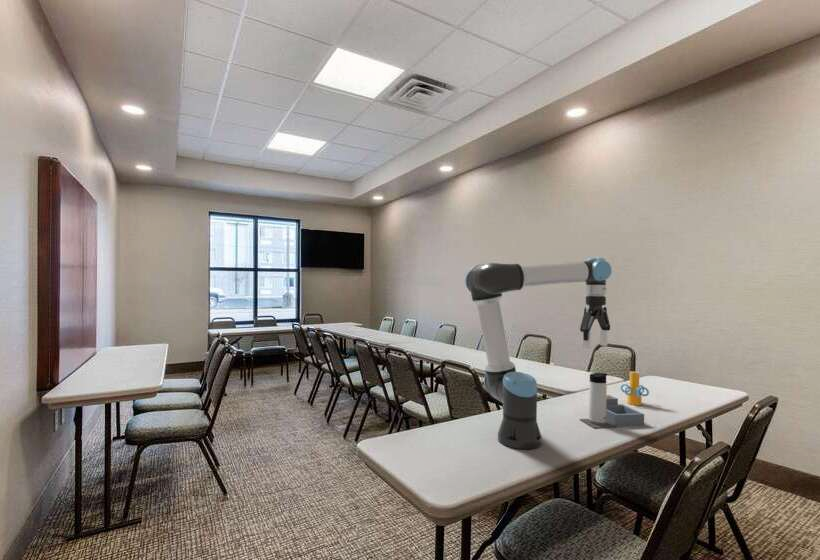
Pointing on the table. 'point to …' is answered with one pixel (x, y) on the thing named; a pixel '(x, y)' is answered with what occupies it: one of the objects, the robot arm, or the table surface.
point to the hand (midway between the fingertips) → (595, 347)
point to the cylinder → (634, 390)
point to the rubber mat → (607, 425)
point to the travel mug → (597, 398)
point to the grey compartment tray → (622, 414)
